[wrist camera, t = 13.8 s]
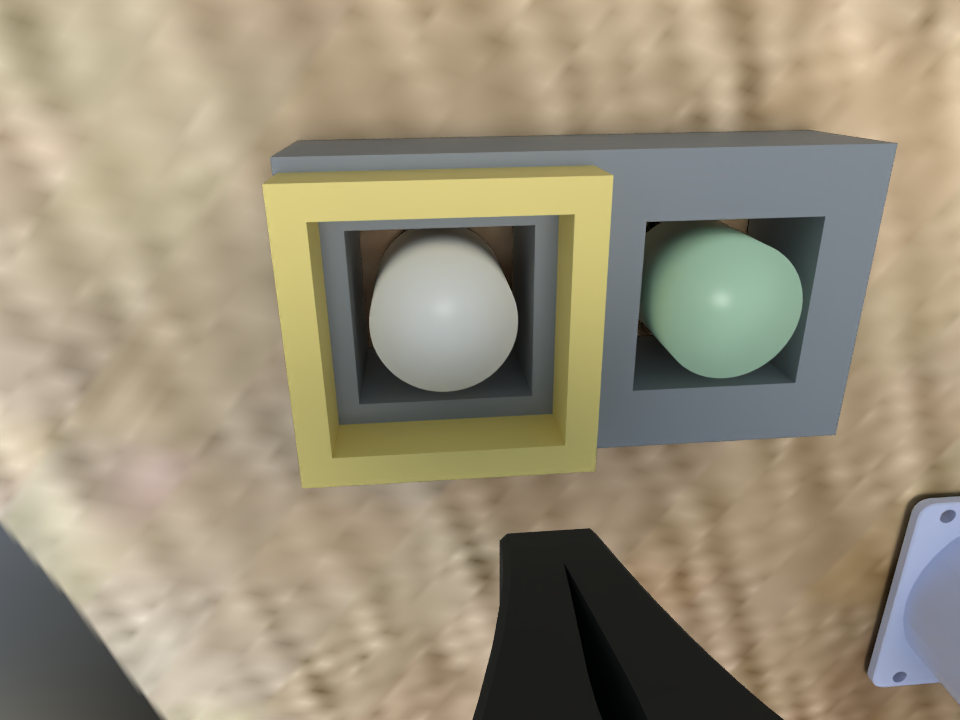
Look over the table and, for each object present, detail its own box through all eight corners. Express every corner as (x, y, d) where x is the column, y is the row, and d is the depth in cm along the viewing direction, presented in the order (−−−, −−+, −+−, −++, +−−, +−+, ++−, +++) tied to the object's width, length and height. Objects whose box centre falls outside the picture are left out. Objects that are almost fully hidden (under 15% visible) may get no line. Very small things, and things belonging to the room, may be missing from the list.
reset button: (502, 219, 17) (518, 248, 14) (502, 340, 18) (517, 388, 16) (371, 224, 17) (363, 253, 14) (380, 345, 18) (374, 395, 15)
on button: (751, 212, 18) (814, 239, 15) (735, 330, 19) (790, 375, 16) (628, 216, 17) (669, 243, 15) (620, 335, 19) (656, 381, 16)
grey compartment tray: (297, 140, 17) (253, 167, 12) (810, 129, 18) (947, 150, 13) (325, 399, 20) (299, 500, 15) (769, 377, 21) (871, 466, 16)
